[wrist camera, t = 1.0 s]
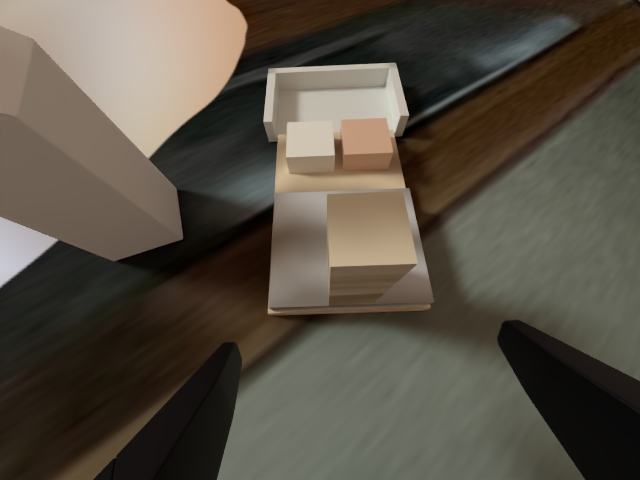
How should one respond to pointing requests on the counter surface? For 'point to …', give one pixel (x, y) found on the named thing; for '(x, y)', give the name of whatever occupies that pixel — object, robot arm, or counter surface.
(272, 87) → the tray
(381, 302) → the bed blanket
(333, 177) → the board
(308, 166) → the tile
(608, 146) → the counter surface
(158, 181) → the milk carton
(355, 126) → the tile
